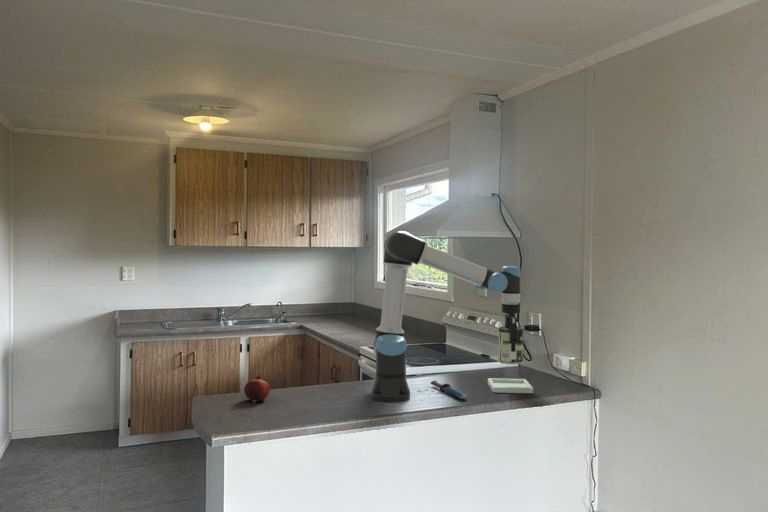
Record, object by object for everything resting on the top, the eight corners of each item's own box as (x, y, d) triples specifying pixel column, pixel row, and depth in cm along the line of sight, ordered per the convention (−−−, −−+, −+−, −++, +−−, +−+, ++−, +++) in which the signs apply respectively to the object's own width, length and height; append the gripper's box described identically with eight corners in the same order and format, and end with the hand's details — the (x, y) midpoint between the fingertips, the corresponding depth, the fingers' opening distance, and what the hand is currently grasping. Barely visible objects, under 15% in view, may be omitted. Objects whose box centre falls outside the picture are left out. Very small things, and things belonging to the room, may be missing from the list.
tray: (493, 392, 233) (493, 387, 232) (487, 382, 248) (487, 378, 248) (533, 393, 232) (533, 388, 232) (525, 383, 248) (525, 379, 248)
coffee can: (522, 360, 244) (523, 326, 244) (523, 365, 234) (523, 330, 234) (497, 359, 246) (498, 326, 246) (497, 363, 236) (498, 329, 236)
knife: (469, 391, 220) (458, 394, 218) (470, 399, 221) (459, 402, 219) (438, 377, 242) (428, 379, 240) (439, 384, 243) (429, 386, 241)
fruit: (249, 405, 210) (249, 378, 210) (240, 399, 218) (241, 373, 218) (273, 402, 215) (273, 375, 215) (264, 396, 223) (264, 370, 223)
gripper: (525, 306, 228) (524, 362, 228) (515, 300, 251) (514, 351, 251) (506, 306, 228) (505, 362, 229) (497, 300, 251) (497, 351, 251)
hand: (510, 356), depth 240 cm, fingers closed on coffee can, 10 cm apart
